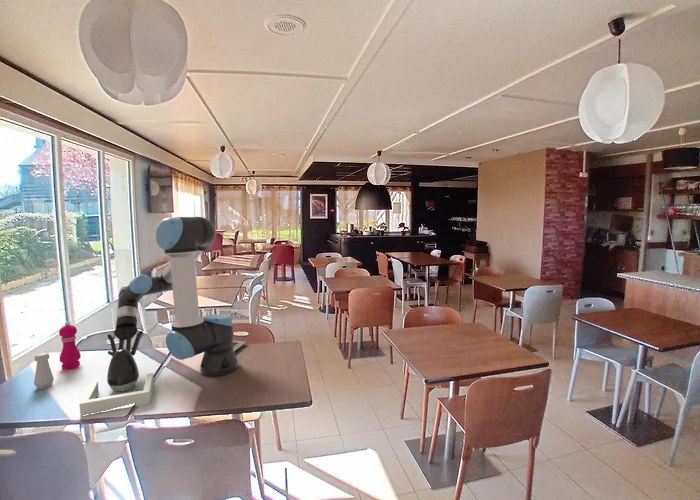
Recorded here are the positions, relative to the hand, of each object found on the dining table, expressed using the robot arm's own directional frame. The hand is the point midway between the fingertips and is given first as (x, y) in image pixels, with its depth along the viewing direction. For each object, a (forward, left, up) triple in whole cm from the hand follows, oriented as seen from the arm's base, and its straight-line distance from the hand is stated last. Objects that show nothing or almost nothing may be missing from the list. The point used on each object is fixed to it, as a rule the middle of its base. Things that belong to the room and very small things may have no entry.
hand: (122, 372), depth 143 cm
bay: (-7, +11, -4) cm, 14 cm away
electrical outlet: (-26, -39, -5) cm, 47 cm away
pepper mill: (+33, -11, -4) cm, 35 cm away
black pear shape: (-3, +4, -4) cm, 7 cm away
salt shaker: (+28, +6, -4) cm, 29 cm away
